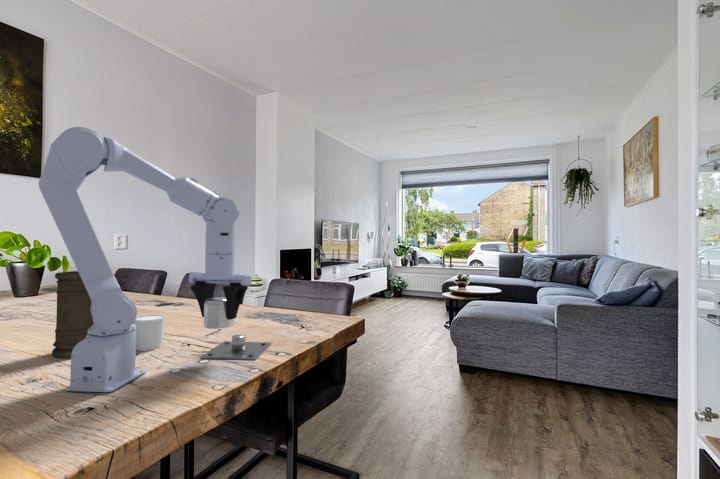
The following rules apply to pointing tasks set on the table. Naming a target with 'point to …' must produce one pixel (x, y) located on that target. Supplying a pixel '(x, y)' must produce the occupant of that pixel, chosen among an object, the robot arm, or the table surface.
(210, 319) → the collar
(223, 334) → the table surface
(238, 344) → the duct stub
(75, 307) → the container
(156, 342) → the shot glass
